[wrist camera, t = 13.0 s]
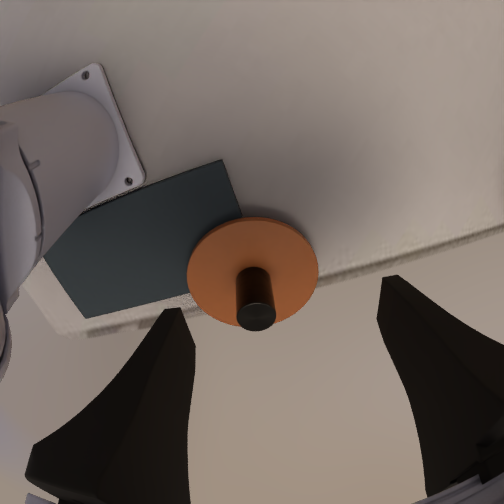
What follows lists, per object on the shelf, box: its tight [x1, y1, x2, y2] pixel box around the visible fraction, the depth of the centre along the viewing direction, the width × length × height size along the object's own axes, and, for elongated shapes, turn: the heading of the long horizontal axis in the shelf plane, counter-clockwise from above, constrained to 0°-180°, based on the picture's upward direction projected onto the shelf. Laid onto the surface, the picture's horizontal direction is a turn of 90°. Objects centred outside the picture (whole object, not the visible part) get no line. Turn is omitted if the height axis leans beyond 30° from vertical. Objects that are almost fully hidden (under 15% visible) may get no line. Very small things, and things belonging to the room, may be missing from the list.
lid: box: [187, 217, 318, 331], centre depth 19 cm, size 8×8×4 cm
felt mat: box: [43, 160, 243, 319], centre depth 20 cm, size 15×8×1 cm, turn 107°
